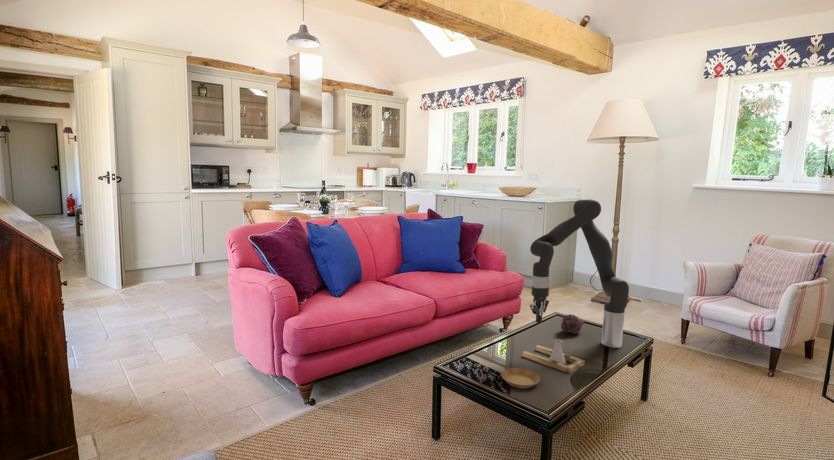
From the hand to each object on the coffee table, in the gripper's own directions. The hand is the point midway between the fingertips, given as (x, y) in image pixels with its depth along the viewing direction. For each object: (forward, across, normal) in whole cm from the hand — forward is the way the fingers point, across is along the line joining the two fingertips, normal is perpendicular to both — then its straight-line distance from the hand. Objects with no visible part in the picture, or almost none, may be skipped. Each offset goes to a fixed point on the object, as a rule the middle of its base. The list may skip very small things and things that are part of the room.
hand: (538, 322), depth 202 cm
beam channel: (+15, 0, +7) cm, 17 cm away
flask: (+16, +1, +10) cm, 19 cm away
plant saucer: (+16, +29, +10) cm, 34 cm away
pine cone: (+16, -39, -4) cm, 42 cm away
